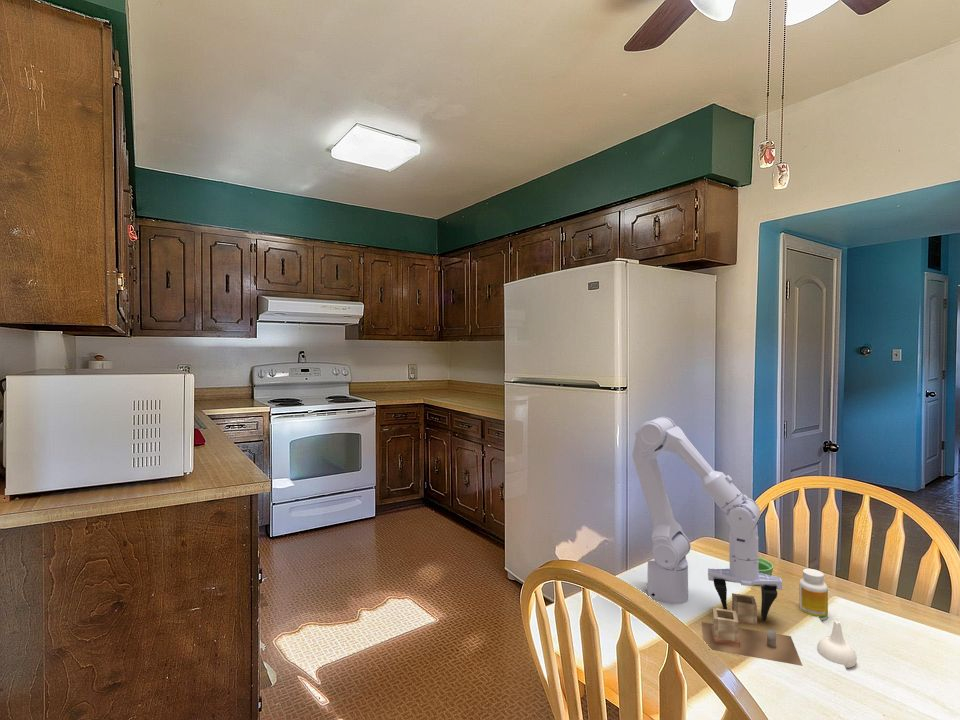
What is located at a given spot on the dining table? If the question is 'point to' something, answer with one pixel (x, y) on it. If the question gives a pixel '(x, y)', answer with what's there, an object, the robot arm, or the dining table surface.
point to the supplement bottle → (813, 594)
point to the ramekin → (765, 566)
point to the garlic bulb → (837, 647)
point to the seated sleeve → (725, 627)
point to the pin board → (757, 645)
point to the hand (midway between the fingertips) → (744, 615)
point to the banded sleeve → (745, 608)
